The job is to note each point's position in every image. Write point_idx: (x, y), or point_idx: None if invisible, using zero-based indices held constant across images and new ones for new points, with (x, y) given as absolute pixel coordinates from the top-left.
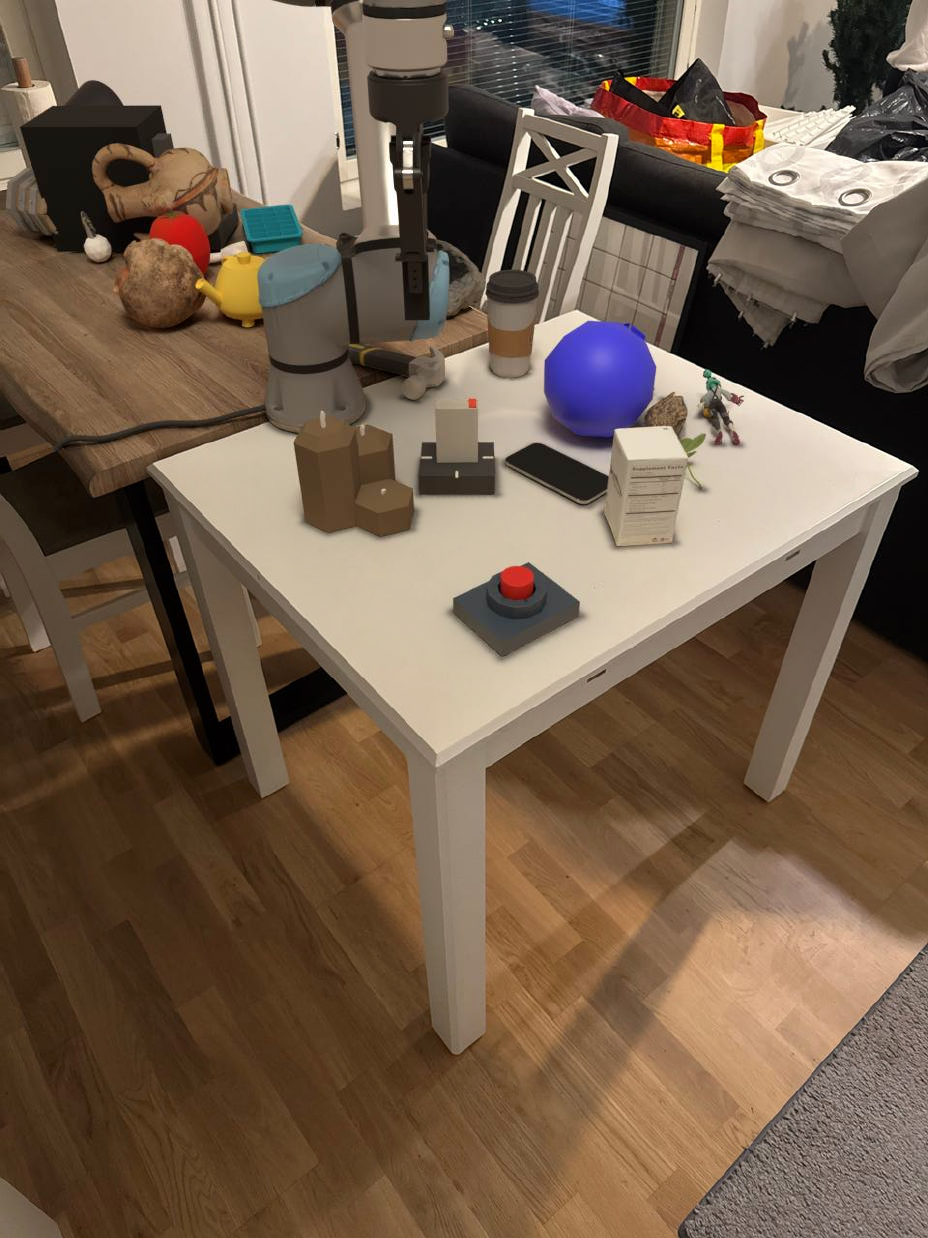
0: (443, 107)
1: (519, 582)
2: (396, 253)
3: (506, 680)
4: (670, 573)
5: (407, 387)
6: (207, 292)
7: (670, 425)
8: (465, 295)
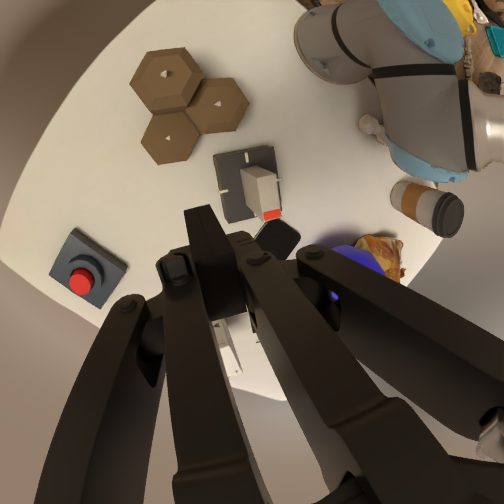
0: None
1: (74, 287)
2: (190, 257)
3: (39, 275)
4: None
5: (365, 119)
6: None
7: None
8: None
